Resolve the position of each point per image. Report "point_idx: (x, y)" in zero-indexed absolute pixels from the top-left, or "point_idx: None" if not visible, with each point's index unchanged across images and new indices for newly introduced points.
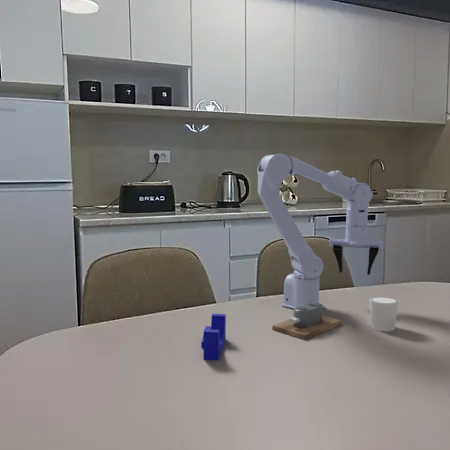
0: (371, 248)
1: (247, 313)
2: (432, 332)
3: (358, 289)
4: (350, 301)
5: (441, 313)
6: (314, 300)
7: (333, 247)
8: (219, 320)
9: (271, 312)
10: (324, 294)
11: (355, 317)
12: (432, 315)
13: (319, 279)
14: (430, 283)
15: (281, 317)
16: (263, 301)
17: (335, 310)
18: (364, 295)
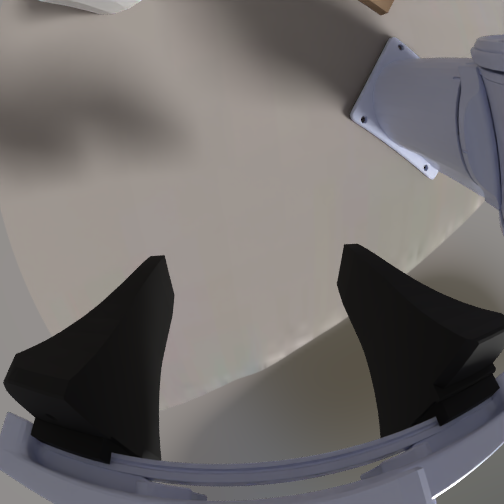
0: (88, 446)
1: None
2: (8, 45)
3: (249, 358)
4: (261, 237)
5: (10, 226)
6: (401, 68)
7: (493, 371)
8: None
9: (470, 48)
10: None
11: (218, 32)
12: (16, 196)
13: (447, 115)
14: None
15: (441, 5)
16: None
17: (307, 93)
18: (223, 317)
